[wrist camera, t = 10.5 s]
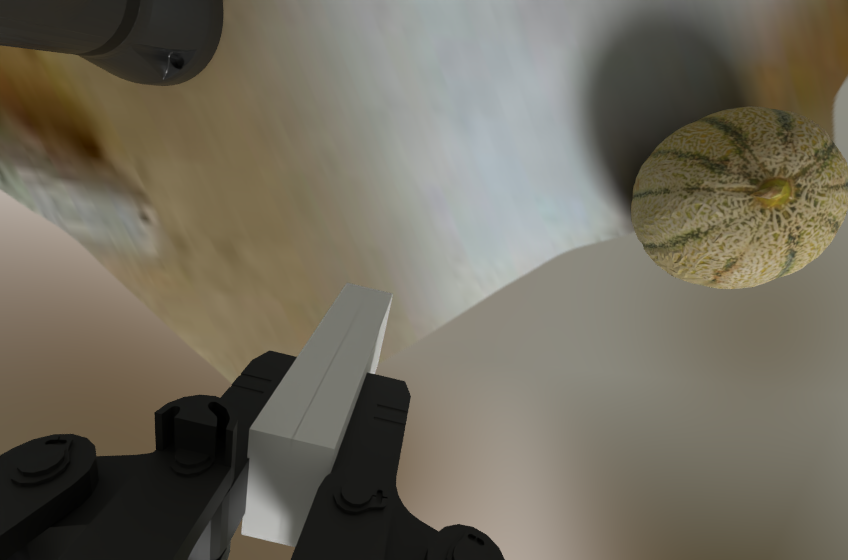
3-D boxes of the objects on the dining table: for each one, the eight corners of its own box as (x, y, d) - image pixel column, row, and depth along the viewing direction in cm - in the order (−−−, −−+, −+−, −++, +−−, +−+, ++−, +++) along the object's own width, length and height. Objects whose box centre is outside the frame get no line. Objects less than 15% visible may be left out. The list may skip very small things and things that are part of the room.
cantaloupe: (698, 278, 45) (803, 352, 31) (579, 220, 44) (634, 271, 30) (801, 148, 40) (983, 169, 26) (669, 78, 38) (785, 61, 24)
